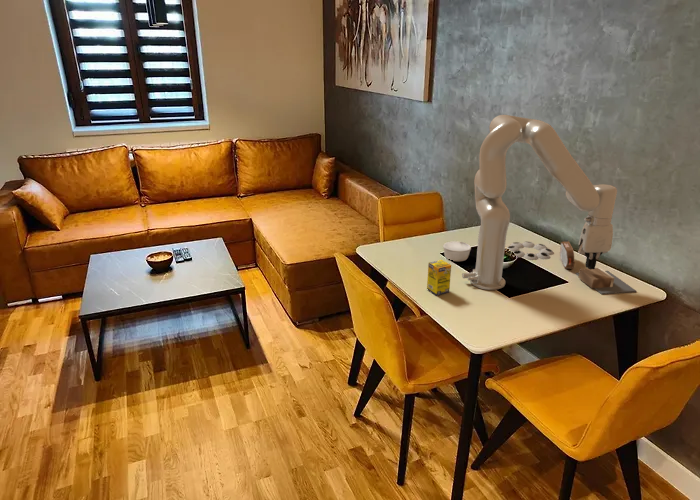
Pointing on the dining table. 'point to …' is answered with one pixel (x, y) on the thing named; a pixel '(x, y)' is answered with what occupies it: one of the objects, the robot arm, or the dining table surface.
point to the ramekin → (456, 250)
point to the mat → (615, 287)
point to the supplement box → (439, 277)
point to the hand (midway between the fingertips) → (589, 267)
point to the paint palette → (540, 247)
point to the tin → (567, 255)
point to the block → (596, 278)
